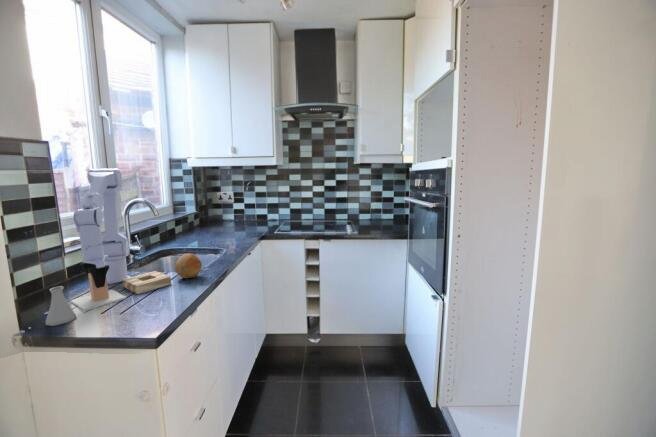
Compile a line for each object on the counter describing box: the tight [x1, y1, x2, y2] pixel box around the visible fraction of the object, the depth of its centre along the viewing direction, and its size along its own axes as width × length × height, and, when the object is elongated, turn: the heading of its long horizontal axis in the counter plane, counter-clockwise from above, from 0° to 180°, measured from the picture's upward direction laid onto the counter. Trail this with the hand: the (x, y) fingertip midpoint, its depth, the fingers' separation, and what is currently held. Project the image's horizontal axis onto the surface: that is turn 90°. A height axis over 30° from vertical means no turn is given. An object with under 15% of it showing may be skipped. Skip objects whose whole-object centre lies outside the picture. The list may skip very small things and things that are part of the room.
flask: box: [45, 285, 77, 327], centre depth 92 cm, size 7×7×10 cm
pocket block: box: [122, 270, 172, 295], centre depth 120 cm, size 12×12×3 cm
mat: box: [70, 289, 127, 312], centre depth 107 cm, size 12×12×1 cm
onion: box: [174, 253, 202, 279], centre depth 127 cm, size 10×10×10 cm
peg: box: [87, 273, 109, 302], centre depth 106 cm, size 4×4×9 cm
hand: (97, 284), depth 106 cm, fingers open, 7 cm apart
